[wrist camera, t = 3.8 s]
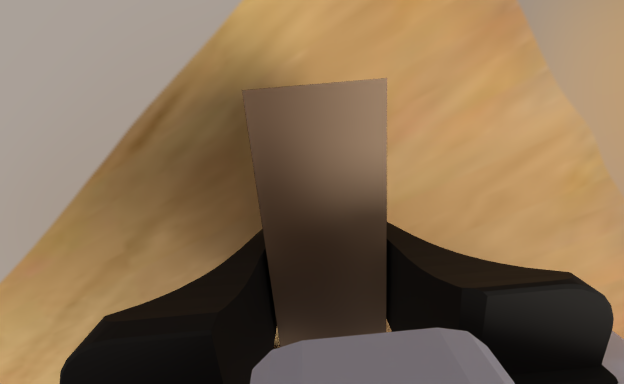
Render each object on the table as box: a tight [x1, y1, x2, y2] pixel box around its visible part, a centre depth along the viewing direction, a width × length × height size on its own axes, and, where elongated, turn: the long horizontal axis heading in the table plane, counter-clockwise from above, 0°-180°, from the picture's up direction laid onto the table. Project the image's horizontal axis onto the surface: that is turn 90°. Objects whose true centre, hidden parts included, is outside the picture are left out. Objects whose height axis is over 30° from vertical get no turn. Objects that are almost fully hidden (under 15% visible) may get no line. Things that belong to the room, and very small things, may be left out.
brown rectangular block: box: [242, 78, 387, 347], centre depth 11 cm, size 4×12×5 cm, turn 5°
